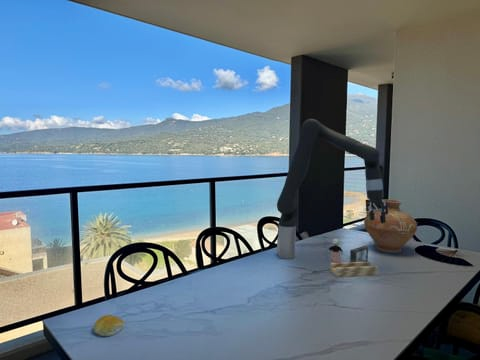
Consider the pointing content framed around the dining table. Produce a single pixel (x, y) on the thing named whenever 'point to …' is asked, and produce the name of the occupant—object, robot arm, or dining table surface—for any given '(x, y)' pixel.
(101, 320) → the bread roll
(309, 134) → the robot arm
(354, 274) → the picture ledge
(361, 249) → the dark grey block
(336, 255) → the grandmother figurine
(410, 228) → the jug
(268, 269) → the dining table surface
